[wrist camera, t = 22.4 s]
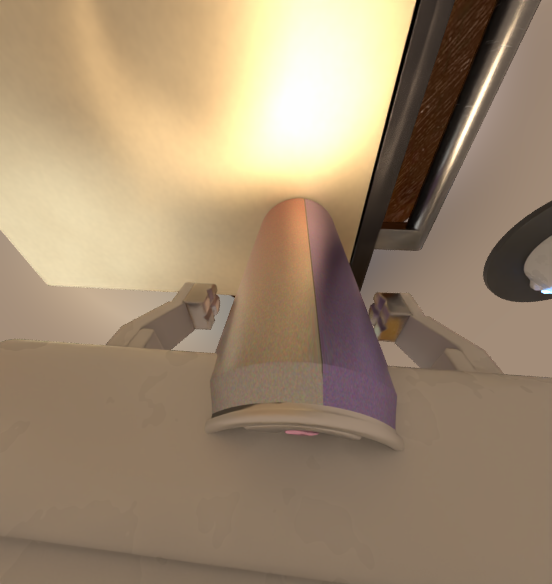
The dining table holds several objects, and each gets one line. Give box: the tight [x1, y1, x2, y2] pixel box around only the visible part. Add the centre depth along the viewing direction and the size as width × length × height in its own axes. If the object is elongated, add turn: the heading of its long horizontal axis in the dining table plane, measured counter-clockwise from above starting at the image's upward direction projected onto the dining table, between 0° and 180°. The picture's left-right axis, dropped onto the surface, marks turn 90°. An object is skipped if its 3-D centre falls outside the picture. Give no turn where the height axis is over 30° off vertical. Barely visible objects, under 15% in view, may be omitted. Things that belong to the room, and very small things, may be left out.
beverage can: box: [205, 198, 404, 451], centre depth 11 cm, size 6×6×15 cm
